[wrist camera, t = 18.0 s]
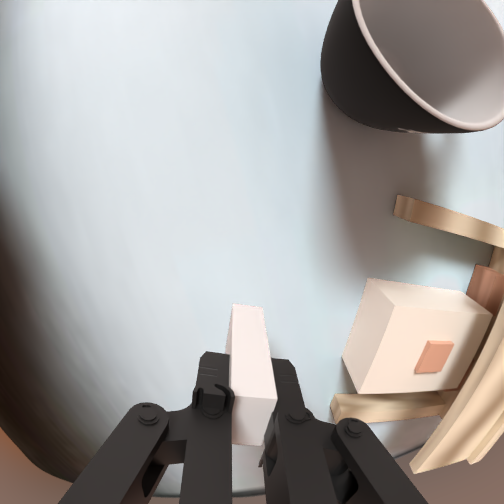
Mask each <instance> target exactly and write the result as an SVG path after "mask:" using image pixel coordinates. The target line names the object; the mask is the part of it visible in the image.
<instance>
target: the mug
mask: <svg viewBox="0 0 504 504" xmlns="http://www.w3.org/2000/svg"><path fill="white" fill-rule="evenodd" d="M321 75H322V79H323V83H324V86H325V88H326V90H327V92H328V94H329V96H330V97H331V99H332V100H333V102H334V103H335V104H336V105H337V106H338V108H339V109H340V110H342V111H343V112H344V113H345V114H346V115H348V116H349V117H351V118H352V119H354V120H356V121H357V122H359V123H362V124H364V125H367V126H370V127H373V128H377V129H382V130H388V131H395V132H408V133H469V132H477V131H483V130H486V129H489V128H492V127H494V126H496V125H497V124H499V123H500V122H501V121H502V120H503V119H504V31H503V29H502V27H501V25H500V23H499V22H498V20H497V18H496V17H495V15H494V14H493V12H492V11H491V9H490V8H489V7H488V5H487V4H486V3H485V2H484V0H338V2H337V5H336V7H335V9H334V12H333V14H332V17H331V19H330V22H329V25H328V28H327V31H326V34H325V38H324V42H323V46H322V52H321Z"/></svg>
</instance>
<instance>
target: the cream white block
mask: <svg viewBox="0 0 504 504" xmlns="http://www.w3.org/2000/svg"><path fill="white" fill-rule="evenodd" d="M492 316H493V314H491V313H490V312H489V311H487V310H486V309H485V308H483V307H482V306H481V305H479V304H478V303H477V302H475V301H474V300H472V299H471V298H470V297H468V296H467V295H465V294H464V293H463V292H461V291H455V290H448V289H441V288H434V287H428V286H421V285H414V284H408V283H401V282H394V281H388V280H381V279H374V278H368V279H367V282H366V285H365V289H364V292H363V295H362V298H361V302H360V305H359V308H358V311H357V314H356V317H355V320H354V323H353V326H352V329H351V332H350V334H349V337H348V340H347V343H346V346H345V348H344V351H343V354H342V358H343V361H344V363H345V365H346V367H347V370H348V372H349V374H350V376H351V379H352V381H353V383H354V386H355V388H356V390H357V392H358V394H384V393H407V392H422V391H434V390H444V389H453V388H457V387H458V385H459V384H460V382H461V380H462V378H463V376H464V375H465V373H466V371H467V369H468V367H469V365H470V363H471V362H472V360H473V358H474V356H475V354H476V352H477V350H478V347H479V345H480V343H481V341H482V339H483V337H484V335H485V332H486V330H487V328H488V326H489V323H490V321H491V318H492Z"/></svg>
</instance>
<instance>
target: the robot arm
mask: <svg viewBox="0 0 504 504" xmlns="http://www.w3.org/2000/svg"><path fill="white" fill-rule="evenodd" d="M263 440H264V442H265V449H264V452H263V454H262V457H261V460H260V462H259V467H262V465H263V470H264V481H265V493H266V503H267V504H428V503H427V501H426V500H425V499H424V498H423V496H422V495H421V494H420V492H419V491H418V490H417V488H416V487H415V486H414V485H413V483H412V482H411V481H410V480H409V478H408V477H407V476H406V474H405V473H404V472H403V471H402V469H401V468H400V467H399V465H398V464H397V463H396V462H395V460H394V459H393V458H392V456H391V455H390V454H389V452H388V451H387V450H386V448H385V447H384V446H383V445H382V443H381V442H380V441H379V439H378V438H377V437H376V435H375V434H374V433H373V431H372V430H371V429H370V428H369V426H368V425H367V424H366V423H365V422H363V421H361V420H359V419H357V418H352V417H350V418H344V419H342V420H340V421H339V422H338V423H337V425H336V424H331V423H327V422H323V421H320V420H317V419H315V417H314V416H313V414H312V412H311V411H309V410H308V409H307V408H305V405H304V401H303V397H302V393H301V390H300V386H299V384H298V378H297V374H296V370H295V367H294V366H293V365H292V364H291V362H290V361H289V360H286V359H274V358H271V356H270V350H269V344H268V338H267V332H266V326H265V320H264V314H263V308H262V307H256V306H248V305H241V304H234V303H233V306H232V312H231V318H230V324H229V330H228V336H227V343H226V352H225V354H222V353H215V352H208V351H206V352H205V353H204V354H203V355H202V357H201V358H200V363H199V369H198V375H197V381H196V386H195V388H194V390H193V396H192V403H191V405H190V406H188V407H187V408H185V409H182V410H179V411H170V412H166V411H165V410H164V408H162V407H161V406H159V405H157V404H153V403H139V404H136V405H134V406H133V407H132V408H131V409H130V410H129V411H128V412H127V414H126V415H125V416H124V418H123V419H122V420H121V421H120V423H119V424H118V425H117V427H116V428H115V429H114V431H113V432H112V433H111V435H110V436H109V437H108V439H107V440H106V441H105V442H104V444H103V445H102V446H101V448H100V449H99V450H98V452H97V453H96V454H95V456H94V457H93V458H92V459H91V461H90V462H89V463H88V465H87V466H86V467H85V469H84V470H83V471H82V473H81V474H80V475H79V477H78V478H77V479H76V480H75V482H74V483H73V484H72V486H71V487H70V488H69V490H68V491H67V492H66V494H65V495H64V496H63V498H62V499H61V500H60V502H59V503H58V504H148V503H149V501H150V499H151V497H152V495H153V494H154V492H155V490H156V488H157V486H158V484H159V482H160V480H161V479H162V477H163V475H164V473H165V471H166V469H167V467H168V465H169V464H178V463H184V467H183V475H182V483H181V492H180V500H179V504H232V444H238V445H252V446H262V443H263Z"/></svg>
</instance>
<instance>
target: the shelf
mask: <svg viewBox="0 0 504 504" xmlns="http://www.w3.org/2000/svg"><path fill="white" fill-rule="evenodd" d="M393 215H395V216H397V217H400V218H402V219H405V220H407V221H410V222H413V223H417V224H421V225H425V226H429V227H433V228H436V229H440V230H444V231H447V232H451V233H455V234H458V235H462V236H465V237H469V238H472V239H475V240H479V241H482V242H485V243H489V244H492V245H495V246H494V250H493V254H492V257H491V261H490V264H489V267H486V266H482V265H477V264H476V265H475V268H474V272H473V275H472V278H471V281H470V284H469V287H468V290H467V293H466V295H467V296H468V297H470V298H471V299H472V300H474V301H475V302H477V303H478V304H479V305H481V306H482V307H483V308H485V309H486V310H487V311H489V312H490V313H491V314H493V316H492V318H491V321H490V323H489V326H488V328H487V330H486V332H485V335H484V337H483V339H482V341H481V343H480V345H479V347H478V350H477V352H476V354H475V356H474V358H473V360H472V362H471V363H470V365H469V367H468V369H467V371H466V373H465V375H464V376H463V378H462V380H461V382H460V384H459V385H458V387H457V388H453V389H444V390H434V391H422V392H407V393H384V394H335V395H334V397H333V399H332V402H331V404H330V407H331V410H332V413H333V416H334V420H335V423H336V424H337V423H338V422H339V421H340V420H342V419H344V418H350V417H352V418H357V419H359V420H361V421H363V422H365V423H371V422H385V421H396V420H406V419H414V418H422V417H429V416H435V415H440V417H441V419H442V421H441V422H440V424H439V425H438V427H437V428H436V430H435V431H434V432H433V434H432V435H431V437H430V438H429V439H428V441H427V442H426V443H425V445H424V446H423V447H422V448H421V450H420V451H419V452H418V454H417V455H416V456H415V458H414V459H413V460H412V461H411V462H410V466H411V469H412V471H413V473H414V474H416V473H420V472H424V471H428V470H432V469H435V468H439V467H443V466H446V465H449V464H452V463H456V462H459V461H461V460H465V459H467V460H468V462H469V464H473V463H475V462H478V461H480V460H481V459H482V458H483V456H484V455H485V454H486V453H487V452H488V451H489V449H490V448H491V447H492V446H493V445H494V443H495V442H496V441H497V440H498V438H499V437H500V436H501V434H502V433H503V432H504V229H503V228H500V227H498V226H495V225H492V224H490V223H487V222H484V221H481V220H479V219H476V218H473V217H470V216H467V215H464V214H461V213H458V212H455V211H452V210H449V209H446V208H443V207H440V206H437V205H433V204H430V203H427V202H424V201H420V200H417V199H413V198H409V197H405V196H401V195H397V200H396V204H395V209H394V213H393Z"/></svg>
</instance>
